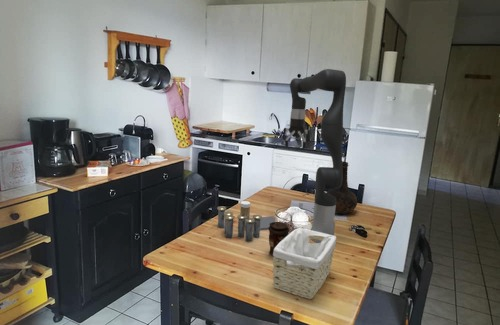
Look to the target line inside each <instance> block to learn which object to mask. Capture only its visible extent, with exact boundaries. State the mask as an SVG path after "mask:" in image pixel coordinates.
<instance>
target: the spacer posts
mask: <svg viewBox="0 0 500 325" xmlns="http://www.w3.org/2000/svg"><path fill="white" fill-rule="evenodd" d="M216 208H217V210H218V211H217V212H218V213H217V215H218V216H217V228H218V229H224V232H223V233H224V235H225V238H226V239H229V240H231V239H233V236H234V235H233V232H234V220H235V215H234V212H232V211H226V210H227V207H226V206H224V205H221V206H217V207H216ZM262 217H263V216H262V215H260V214H253V215H252V217H249V218H247V216H246V215H240V214H238V215H237V220H238V222H237V223H238V224H237V238H239V239H244V238H245V240H244V241H245V242H248V243H251V242H253V238H256V239H258V238H260V237H261V236H260V234H261V230H260V220H261V218H262ZM253 218H254V219H253ZM245 221H246V231H245ZM253 222H254V224H253Z"/></svg>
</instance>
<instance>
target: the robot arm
mask: <svg viewBox="0 0 500 325" xmlns="http://www.w3.org/2000/svg"><path fill="white" fill-rule="evenodd" d="M346 75H347V74H346V73H345V71H344V70H339V69H332V68H331V69H330V68H325V69H323V70H320V71H319V72H318V73H315V74H314V75H311V76H305V77H304V78H298V77H297V78H296V77H294V78H292V79H291V81H290V83H289V87H290V88H289V89H290V95H291V101H292V102H291V111H290V120H289V121H290V122H289V128H288V127H287V128H286V127H284V128H283V132H282V137H281V138H282V140H284V141H285V144H284V146H285V147H286V149H288V148H289V139H290V138H291V137H292V138H301V140H302V141H303V142H302V150H304V149H305V148H306V145H307V144H306V143H307V142H310V139H311V138H310V135H311V130H310V129H309V128H308V129H305V123H306V103H307V100H306V98H305V97H301V96H300V95H299V93H301V94H302V93H303V94H306V93H307V94H308V93H309V92H314V91H317V90H321V91H325V92H326V91H327V92H331V93H332V92H333V93H332V94H333V96H332V97H333V98H332V102H331V105H330V106H329V108H328V109H327V111H326V112H325V114H324V116H323V118H322V119H321V123H320V137H321V138H320V139H321V140H322V142H323V145H324V146H325V147H326V149H327V151H328V153H329V154H330V157H331V160H332V166H331V167H330V166H328V167H327V166H321V167H318V168H317V170H316V172H315V189H314V203H313V204H314V206H313V215H312V216H313V217H312V227H311V230H312V231H317V232H321V233H325V234H329V235H334V236H335V228H336V222H335V214H336V213H335V208H336V198H335V197H334V196H332V195H330V194H327V193H326V192H327V191H326V192H325V190H326V189H327V190H331V189H339V188H340V187H341V185H342V180H343V170H342V161H343V134H344V104H345V103H344V102H345V94H346V86H347V76H346ZM287 132H289V134H288V136H287V137H286V133H287ZM304 133H306V135H307V138H305V136H304ZM310 239H311V241H313V242H315V243H321V241H320V240H317V239H314V238H313V239H312V238H310Z"/></svg>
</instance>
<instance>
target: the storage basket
mask: <svg viewBox="0 0 500 325" xmlns="http://www.w3.org/2000/svg"><path fill="white" fill-rule="evenodd" d="M311 238H312V239H313V238H314V239H317V240H320V241H321V243H317V242H315V243H310V239H311ZM312 239H311V240H312ZM336 245H337V236H336V235H335V234H334V235H329V234H325V233H321V232H317V231H312V229H309V228H307V229H306V228H304V227H298V228H295V229H294V230H292V231H291V232H289V233H288V236H286V237H285V238H284V239H283V240H282V241H281V242H280V243H279V244H278V245H277V246H276V247H275V249H274V252H273V258H272V261H273V270H272V272H273V273H272V274H273V276H272V277H273V278H272V283H273V284H272V286H273V288H275V289H277V290H281V291H282V292H283V291H284V292H286V293H289V294H293V296H294V295H295V296H299V297H301V298H306V299H309V300H312V299H313V297H315V295H316V294H317V293H318V292H319V290H320V289H321V288H322V286H323V285H324V282H326V279H327V277H328V276H330V275H329V274H330V272H331V266H332V262H333V257H334V252H335V248H336Z"/></svg>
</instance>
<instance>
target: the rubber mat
mask: <svg viewBox="0 0 500 325" xmlns="http://www.w3.org/2000/svg"><path fill="white" fill-rule="evenodd" d="M252 218H253V217H252ZM275 218H276V217H274V216H273V215H272V216H262V218H261V220H260V231H266V230H268V231H269V229H268V228H269V226H270V223H272V222H275ZM253 219H254V218H253ZM253 224H254V222H253Z"/></svg>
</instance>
